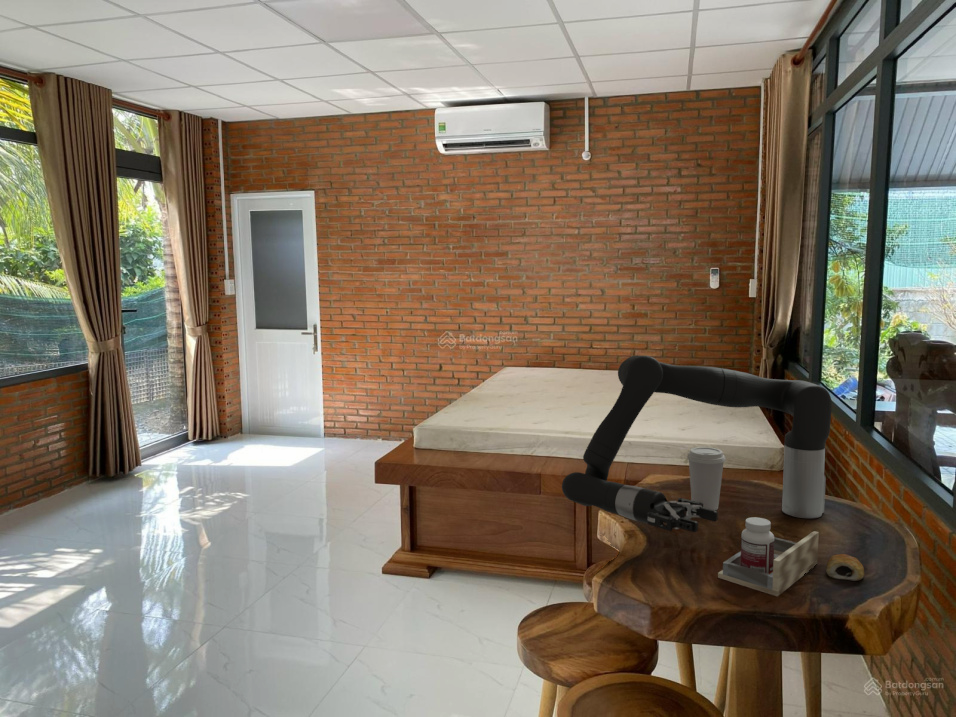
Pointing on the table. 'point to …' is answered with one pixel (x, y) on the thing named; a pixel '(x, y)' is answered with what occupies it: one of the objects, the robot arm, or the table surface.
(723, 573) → the bottle rack
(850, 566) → the pastry
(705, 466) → the coffee cup
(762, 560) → the pill bottle
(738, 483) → the table surface
